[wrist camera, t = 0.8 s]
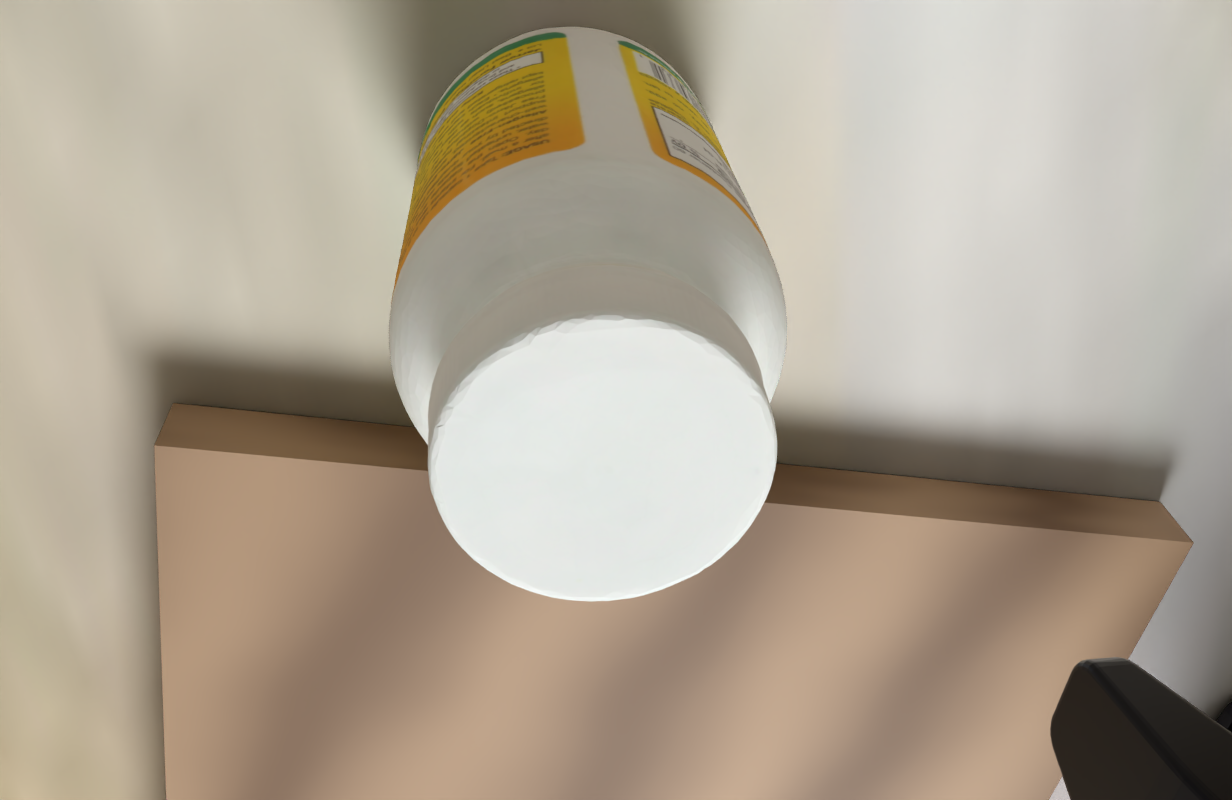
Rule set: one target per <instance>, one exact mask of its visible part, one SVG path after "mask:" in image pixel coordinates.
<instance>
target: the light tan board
mask: <svg viewBox="0 0 1232 800" xmlns="http://www.w3.org/2000/svg"><path fill="white" fill-rule="evenodd" d="M154 456H155V485H156V515H157V544H158V573H159V603H160V632H161V662H162V691H163V721H164V750H165V780H166V800H1049V799H1050V797H1051V795H1052V793H1053V791H1054V790H1055V788H1056V786H1057V784H1058V783H1059V781H1060V779H1061V777H1062V773H1061V770H1060V767H1059V765H1058V762H1057V759H1056V756H1055V753H1054V750H1053V746H1052V742H1051V736H1050V726H1051V719H1052V716H1053V713H1054V711H1055V709H1056V706H1057V704H1058V702H1059V699H1060V697H1061V695H1062V692H1063V690H1064V688H1065V685H1066V683H1067V681H1068V678H1069V676H1070V674H1071V671H1072V670H1073V668H1074V666H1075V665H1076V664H1078V663H1079V662H1080V661H1082V660H1086V659H1098V658H1109V657H1121V658H1125V659H1127V660H1128V658H1129V657H1130V655H1131V653H1132V651H1133V650H1134V648H1135V646H1136V644H1137V642H1138V641H1139V639H1140V637H1141V635H1142V634H1143V632H1144V630H1145V628H1146V626H1147V625H1148V623H1149V621H1150V619H1151V618H1152V616H1153V614H1154V612H1155V610H1156V609H1157V607H1158V605H1159V603H1160V602H1161V600H1162V598H1163V596H1164V594H1165V593H1166V591H1167V589H1168V587H1169V586H1170V584H1171V582H1172V580H1173V579H1174V577H1175V575H1176V573H1177V571H1178V570H1179V568H1180V566H1181V564H1182V563H1183V561H1184V559H1185V557H1186V555H1187V554H1188V552H1189V550H1190V548H1191V547H1192V545H1193V541H1192V540H1191V539H1190V538H1189V536H1188V535H1187V534H1186V533H1185V532H1184V530H1183V529H1182V528H1181V527H1180V525H1179V524H1178V523H1177V522H1176V521H1175V519H1174V518H1173V517H1172V516H1171V514H1170V513H1169V512H1168V511H1167V510H1166V508H1165V507H1164V506H1163V505H1162V503H1161V502H1156V501H1146V500H1136V499H1126V498H1116V497H1106V496H1096V495H1086V494H1076V493H1066V492H1056V491H1046V490H1036V489H1026V488H1016V487H1006V486H996V485H986V484H976V483H966V482H956V481H946V480H936V479H926V478H916V477H906V476H896V475H886V474H876V473H866V472H856V471H846V470H836V469H826V468H816V467H806V466H796V465H786V464H776V467H775V472H774V476H773V481H772V484H771V488H770V490H769V493H768V495H767V498H766V500H765V502H764V504H763V506H762V508H761V510H760V512H759V513H758V515H757V516H756V518H755V520H754V521H753V523H752V524H751V526H750V527H749V528H748V530H747V531H746V532H745V533H744V535H743V536H742V537H741V539H740V540H739V541H738V542H737V543H736V544H735V545H734V546H733V547H732V548H731V549H730V550H728V551H727V552H726V553H725V554H724V555H723V556H722V557H721V558H720V559H718V560H717V561H716V562H714V563H713V564H712V565H710V566H709V567H707V568H705V569H704V570H702V571H701V572H700V573H698V574H696V575H694V576H692V577H690V578H688V579H685V580H683V581H681V582H679V583H677V584H674V585H672V586H670V587H667V588H665V589H662V590H659V591H656V592H653V593H649V594H646V595H643V596H638V597H634V598H628V599H620V600H612V601H593V602H590V601H574V600H565V599H558V598H552V597H548V596H544V595H541V594H537V593H534V592H531V591H528V590H525V589H523V588H520V587H517V586H515V585H512V584H510V583H508V582H507V581H505V580H503V579H501V578H500V577H498V576H496V575H495V574H493V573H491V572H490V571H488V570H487V569H485V568H484V567H483V566H481V565H480V564H479V563H477V562H476V561H475V560H474V559H473V558H471V557H470V556H469V555H468V554H467V553H466V552H465V551H464V550H463V549H462V548H461V546H460V545H459V544H458V543H457V542H456V541H455V539H454V538H453V536H452V535H451V533H450V532H449V530H448V529H447V527H446V525H445V523H444V521H443V519H442V518H441V515H440V513H439V511H438V508H437V506H436V503H435V500H434V497H433V495H432V493H431V489H430V484H429V474H428V444H427V443H426V442H425V440H424V439H423V438H422V436H421V435H420V433H419V432H418V431H417V429H416V427H406V426H396V425H386V424H376V423H366V422H356V421H346V420H336V419H326V418H316V417H306V416H296V415H286V414H276V413H266V412H256V411H246V410H236V409H226V408H216V407H206V406H196V405H186V404H176V403H173V405H172V407H171V409H170V411H169V413H168V416H167V418H166V420H165V422H164V425H163V427H162V429H161V431H160V434H159V436H158V438H157V440H156V442H155V445H154Z"/></svg>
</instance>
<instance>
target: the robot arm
mask: <svg viewBox="0 0 1232 800" xmlns="http://www.w3.org/2000/svg"><path fill="white" fill-rule="evenodd" d="M1050 736H1051V742H1052V746H1053V750H1054V753H1055V756H1056V759H1057V762H1058V765H1059V767H1060V770H1061V773H1062V776H1063V779H1064V782H1065V785H1066V788H1067V791H1068V794H1069V796H1070V799H1071V800H1232V702H1231V703H1230V704H1228V706H1227V707H1226V708H1225V709H1224V710H1223V712H1222V714H1221V715H1220V717H1219V718H1218V720H1217V721H1214V720H1213V719H1212V718H1210V717H1209V716H1207V715H1206V714H1205V713H1203V712H1202V711H1201V710H1199V709H1198V708H1196V707H1195V706H1194V705H1192V704H1191V703H1189V702H1188V701H1187V700H1185V699H1184V698H1182V697H1181V696H1180V695H1178V694H1177V693H1175V692H1174V691H1173V690H1171V689H1170V688H1168V687H1167V686H1166V685H1164V684H1163V683H1161V682H1160V681H1159V680H1157V679H1156V678H1155V677H1153V676H1152V675H1150V674H1149V673H1148V672H1146V671H1145V670H1143V669H1142V668H1141V667H1139V666H1138V665H1136V664H1135V663H1133V662H1131V661H1130V660H1127V659H1125V658H1121V657H1109V658H1098V659H1086V660H1082V661H1080V662H1079V663H1078V664H1076V665H1075V666H1074V668H1073V670H1072V671H1071V674H1070V676H1069V678H1068V681H1067V683H1066V685H1065V688H1064V690H1063V692H1062V695H1061V697H1060V699H1059V702H1058V704H1057V706H1056V709H1055V711H1054V713H1053V716H1052V719H1051V726H1050Z"/></svg>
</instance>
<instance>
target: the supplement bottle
mask: <svg viewBox="0 0 1232 800" xmlns="http://www.w3.org/2000/svg"><path fill="white" fill-rule="evenodd" d="M786 342H787V316H786V306H785V300H784V295H783V289H782V284H781V281H780V278H779V275H778V272H777V269H776V266H775V263H774V261H773V258H772V256H771V254H770V251H769V249H768V246H767V244H766V241H765V239H764V236H763V234H762V232H761V230H760V228H759V226H758V224H757V222H756V219H755V217H754V215H753V213H752V211H751V209H750V207H749V204H748V202H747V200H746V198H745V196H744V194H743V192H742V190H741V188H740V186H739V184H738V182H737V180H736V178H735V176H734V174H733V172H732V170H731V167H730V165H729V163H728V161H727V158H726V156H725V154H724V152H723V149H722V147H721V145H720V143H719V141H718V138H717V136H716V134H715V132H714V130H713V127H712V125H711V123H710V121H709V119H708V117H707V115H706V114H705V112H704V110H703V108H702V106H701V104H700V103H699V101H698V99H697V97H696V96H695V94H694V93H693V91H692V90H691V88H690V87H689V86H688V84H687V83H686V82H685V81H684V80H683V78H682V77H681V76H680V75H679V74H678V73H677V72H676V71H675V70H674V69H673V68H672V66H670V65H669V64H668V63H667V62H666V61H664V60H663V59H662V58H661V57H659V56H658V55H657V54H655V53H654V52H653V51H651V50H649V49H648V48H646V47H644V46H643V45H641V44H639V43H637V42H635V41H633V40H631V39H628V38H626V37H623V36H620V35H617V34H614V33H611V32H607V31H604V30H599V29H594V28H586V27H574V26H572V27H555V28H545V29H539V30H535V31H531V32H527V33H524V34H522V35H519V36H517V37H515V38H512V39H510V40H508V41H506V42H504V43H502V44H500V45H498V46H497V47H495V48H493V49H492V50H490V51H489V52H487V53H485V54H484V55H482V56H481V57H479V58H478V59H476V60H475V61H474V62H473V63H472V64H470V65H469V66H468V67H467V68H466V69H465V70H464V71H463V72H462V73H461V74H460V75H459V76H458V77H456V78H455V80H454V81H453V82H452V83H451V85H450V86H449V87H448V88H447V90H446V91H445V92H444V94H443V95H442V97H441V98H440V100H439V101H438V103H437V105H436V107H435V109H434V111H433V113H432V115H431V117H430V119H429V122H428V125H427V128H426V131H425V133H424V136H423V140H422V145H421V149H420V153H419V157H418V165H417V171H416V176H415V181H414V187H413V193H412V199H411V205H410V210H409V215H408V220H407V225H406V229H405V234H404V240H403V245H402V249H401V255H400V259H399V265H398V270H397V274H396V280H395V286H394V291H393V296H392V302H391V311H390V320H389V349H390V361H391V366H392V371H393V376H394V379H395V383H396V387H397V390H398V392H399V395H400V397H401V400H402V402H403V405H404V407H405V409H406V411H407V413H408V415H409V417H410V419H411V421H412V422H413V424H414V426H415V427H416V429H417V431H418V432H419V433H420V435H421V436H422V438H423V439H424V440H425V442H426V443H427V444H428V474H429V484H430V489H431V493H432V495H433V497H434V500H435V503H436V506H437V508H438V511H439V513H440V515H441V518H442V519H443V521H444V523H445V525H446V527H447V529H448V530H449V532H450V533H451V535H452V536H453V538H454V539H455V541H456V542H457V543H458V544H459V545H460V546H461V548H462V549H463V550H464V551H465V552H466V553H467V554H468V555H469V556H470V557H471V558H473V559H474V560H475V561H476V562H477V563H479V564H480V565H481V566H483V567H484V568H485V569H487V570H488V571H490V572H491V573H493V574H495V575H496V576H498V577H500V578H501V579H503V580H505V581H507V582H508V583H510V584H512V585H515V586H517V587H520V588H523V589H525V590H528V591H531V592H534V593H537V594H541V595H544V596H548V597H552V598H558V599H565V600H574V601H590V602H593V601H612V600H620V599H628V598H634V597H638V596H643V595H646V594H649V593H653V592H656V591H659V590H662V589H665V588H667V587H670V586H672V585H674V584H677V583H679V582H681V581H683V580H685V579H688V578H690V577H692V576H694V575H696V574H698V573H700V572H701V571H702V570H704V569H705V568H707V567H709V566H710V565H712V564H713V563H714V562H716V561H717V560H718V559H720V558H721V557H722V556H723V555H724V554H725V553H726V552H727V551H728V550H730V549H731V548H732V547H733V546H734V545H735V544H736V543H737V542H738V541H739V540H740V539H741V537H742V536H743V535H744V533H745V532H746V531H747V530H748V528H749V527H750V526H751V524H752V523H753V521H754V520H755V518H756V516H757V515H758V513H759V512H760V510H761V508H762V506H763V504H764V502H765V500H766V498H767V495H768V493H769V490H770V488H771V484H772V481H773V476H774V472H775V467H776V460H777V434H776V427H775V421H774V417H773V413H772V409H771V406H770V402H771V400H772V397H773V395H774V392H775V389H776V387H777V384H778V382H779V378H780V375H781V370H782V366H783V362H784V357H785V351H786Z"/></svg>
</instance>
